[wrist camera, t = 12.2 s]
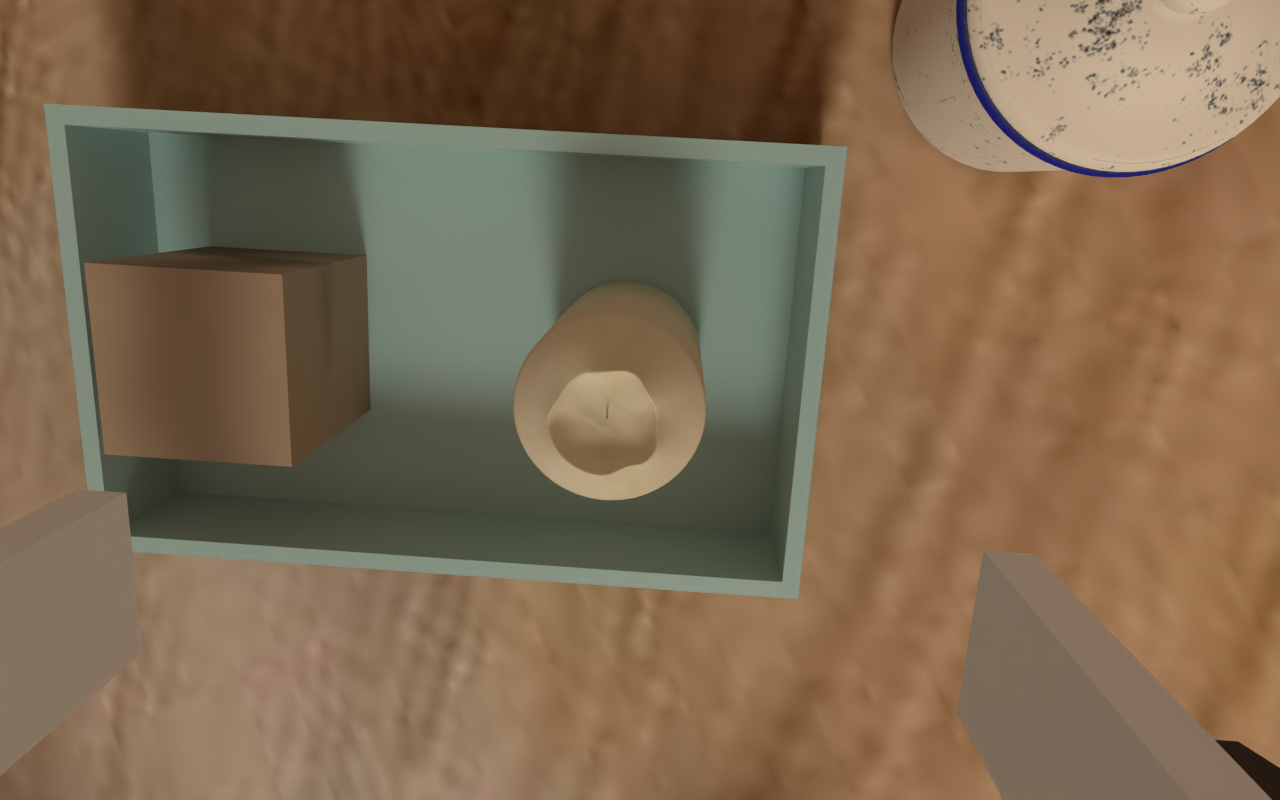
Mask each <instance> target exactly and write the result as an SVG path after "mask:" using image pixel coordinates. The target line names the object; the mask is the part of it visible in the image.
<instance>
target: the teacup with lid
mask: <svg viewBox="0 0 1280 800" xmlns="http://www.w3.org/2000/svg"><path fill="white" fill-rule="evenodd" d="M892 64H893V72H894V79H895V83H896V87H897V91H898V94H899V97H900V100H901V102H902V104H903V106H904V109H905V111H906V113H907V114H908V116H909V118H910V120H911V121H912V123H913V124H914V126H915V127H916V128H917V130H918V131H919V132H920V133H921V134H922V135H923V137H924V138H925V139H926V140H927V141H928V142H929V143H931V144H932V145H933V146H934V147H935V148H936V149H938V150H939V151H941V152H942V153H944V154H945V155H947V156H948V157H950V158H952V159H954V160H956V161H958V162H961V163H963V164H965V165H968V166H971V167H974V168H978V169H983V170H988V171H997V172H1023V171H1050V170H1068V171H1071V172H1074V173H1079V174H1084V175H1090V176H1099V177H1132V176H1141V175H1147V174H1152V173H1157V172H1161V171H1165V170H1168V169H1171V168H1175V167H1178V166H1181V165H1183V164H1186V163H1188V162H1190V161H1193V160H1195V159H1198V158H1200V157H1201V156H1203V155H1205V154H1207V153H1209V152H1211V151H1213V150H1215V149H1216V148H1218V147H1219V146H1221V145H1223V144H1224V143H1226V142H1227V141H1229V140H1230V139H1232V138H1233V137H1234V136H1236V135H1237V134H1239V133H1240V132H1241V131H1243V130H1244V129H1245V128H1247V127H1248V126H1249V125H1250V124H1252V123H1253V122H1254V121H1255V120H1256V119H1257V118H1259V117H1260V116H1261V115H1262V114H1263V113H1264V112H1265V111H1266V110H1267V109H1268V108H1269V107H1270V106H1271V105H1272V104H1273V103H1274V102H1275V101H1276V100H1277V99H1278V98H1279V97H1280V0H902V2H901V5H900V8H899V11H898V14H897V18H896V22H895V27H894V34H893V43H892Z"/></svg>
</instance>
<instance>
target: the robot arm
mask: <svg viewBox="0 0 1280 800" xmlns="http://www.w3.org/2000/svg"><path fill="white" fill-rule="evenodd" d="M141 653H142V643H141V633H140V623H139V613H138V603H137V594H136V584H135V574H134V564H133V554H132V544H131V534H130V524H129V514H128V504H127V495H126V493H123V492H108V491H93V490H76V491H74V492H72V493H70V494H68V495H66V496H64V497H62V498H60V499H58V500H56V501H54V502H52V503H50V504H48V505H46V506H44V507H42V508H40V509H38V510H36V511H34V512H32V513H30V514H28V515H26V516H24V517H22V518H20V519H19V520H17V521H15V522H13V523H11V524H9V525H7V526H5V527H3V528H1V529H0V776H1V775H2V774H3V773H4V772H5V771H6V770H8V769H9V768H10V767H11V766H12V765H13V764H14V763H16V762H17V761H18V760H19V759H20V758H21V757H22V756H24V755H25V754H26V753H27V752H28V751H29V750H31V749H32V748H33V747H34V746H35V745H36V744H37V743H39V742H40V741H41V740H42V739H43V738H44V737H46V736H47V735H48V734H49V733H50V732H51V731H52V730H54V729H55V728H56V727H57V726H58V725H59V724H60V723H62V722H63V721H64V720H65V719H66V718H67V717H69V716H70V715H71V714H72V713H73V712H74V711H75V710H77V709H78V708H79V707H80V706H81V705H82V704H84V703H85V702H86V701H87V700H88V699H89V698H90V697H92V696H93V695H94V694H95V693H96V692H97V691H98V690H100V689H101V688H102V687H103V686H104V685H105V684H107V683H108V682H109V681H110V680H111V679H112V678H113V677H115V676H116V675H117V674H118V673H119V672H120V671H122V670H123V669H124V668H125V667H126V666H127V665H128V664H130V663H131V662H132V661H133V660H134V659H135V658H136V657H138V656H139V655H140V654H141ZM957 713H958V715H959V717H960V719H961V720H962V722H963V724H964V726H965V728H966V730H967V732H968V734H969V736H970V738H971V739H972V741H973V743H974V745H975V747H976V749H977V751H978V753H979V755H980V757H981V758H982V760H983V762H984V764H985V766H986V768H987V770H988V772H989V774H990V776H991V777H992V779H993V781H994V783H995V785H996V787H997V789H998V791H999V793H1000V795H1001V797H1002V798H1003V800H1280V768H1279V767H1277V766H1276V765H1274V764H1272V763H1271V762H1269V761H1268V760H1266V759H1265V758H1263V757H1261V756H1260V755H1258V754H1257V753H1255V752H1254V751H1252V750H1250V749H1249V748H1247V747H1246V746H1244V745H1243V744H1241V743H1239V742H1236V741H1222V740H1214V739H1213V738H1212V737H1211V736H1210V735H1209V734H1208V733H1207V732H1206V731H1205V730H1204V728H1203V727H1202V726H1201V725H1200V724H1199V723H1198V722H1197V721H1196V720H1195V719H1194V718H1193V717H1192V716H1191V715H1190V714H1189V713H1188V712H1187V711H1186V710H1185V709H1184V708H1183V707H1182V706H1181V705H1180V704H1179V703H1178V701H1177V700H1176V699H1175V698H1174V697H1173V696H1172V695H1171V694H1170V693H1169V692H1168V691H1167V690H1166V689H1165V688H1164V687H1163V686H1162V685H1161V684H1160V683H1159V682H1158V681H1157V680H1156V679H1155V678H1154V677H1153V676H1152V675H1151V673H1150V672H1149V671H1148V670H1147V669H1146V668H1145V667H1144V666H1143V665H1142V664H1141V663H1140V662H1139V661H1138V660H1137V659H1136V658H1135V657H1134V656H1133V655H1132V654H1131V653H1130V652H1129V651H1128V650H1127V649H1126V648H1125V646H1124V645H1123V644H1122V643H1121V642H1120V641H1119V640H1118V639H1117V638H1116V637H1115V636H1114V635H1113V634H1112V633H1111V632H1110V631H1109V630H1108V629H1107V628H1106V627H1105V626H1104V625H1103V624H1102V623H1101V622H1100V621H1099V619H1098V618H1097V617H1096V616H1095V615H1094V614H1093V613H1092V612H1091V611H1090V610H1089V609H1088V608H1087V607H1086V606H1085V605H1084V604H1083V603H1082V602H1081V601H1080V600H1079V599H1078V598H1077V597H1076V596H1075V595H1074V594H1073V593H1072V591H1071V590H1070V589H1069V588H1068V587H1067V586H1066V585H1065V584H1064V583H1063V582H1062V581H1061V580H1060V579H1059V578H1058V577H1057V576H1056V575H1055V574H1054V573H1053V572H1052V571H1051V570H1050V569H1049V568H1048V567H1047V566H1046V564H1045V563H1044V562H1043V561H1042V560H1041V559H1040V558H1039V557H1038V556H1037V555H1036V554H1029V553H1014V552H999V551H983V557H982V563H981V569H980V575H979V581H978V588H977V594H976V600H975V606H974V612H973V618H972V624H971V630H970V636H969V642H968V648H967V654H966V661H965V667H964V673H963V679H962V685H961V691H960V697H959V703H958V709H957Z"/></svg>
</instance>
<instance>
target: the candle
mask: <svg viewBox="0 0 1280 800" xmlns="http://www.w3.org/2000/svg"><path fill="white" fill-rule="evenodd" d="M513 413H514V421H515V425H516V429H517V433H518V436H519V438H520V441H521V443H522V445H523V447H524V449H525V451H526V453H527V454H528V456H529V457H530V459H531V460H532V461H533V463H534V464H535V465H536V466H537V467H538V468H539V469H540V470H541V472H542V473H543V474H545V475H546V476H547V477H548V478H549V479H551V480H552V481H553V482H555V483H556V484H558V485H559V486H561V487H563V488H564V489H567V490H569V491H571V492H573V493H575V494H578V495H581V496H585V497H588V498H593V499H599V500H624V499H630V498H635V497H638V496H642V495H645V494H648V493H650V492H652V491H654V490H656V489H658V488H660V487H662V486H663V485H665V484H666V483H668V482H669V481H670V480H672V479H673V478H674V477H675V476H677V475H678V474H679V473H680V472H681V470H682V469H683V468H684V467H685V466H686V465H687V464H688V462H689V461H690V459H691V458H692V456H693V455H694V453H695V451H696V449H697V447H698V445H699V443H700V440H701V437H702V434H703V430H704V426H705V420H706V396H705V386H704V378H703V369H702V360H701V351H700V345H699V340H698V335H697V332H696V329H695V326H694V324H693V322H692V320H691V318H690V317H689V315H688V314H687V312H686V311H685V309H684V308H683V307H682V306H681V305H680V304H679V302H677V301H676V300H675V299H674V298H673V297H672V296H670V295H669V294H667V293H666V292H664V291H663V290H661V289H659V288H656V287H654V286H651V285H648V284H645V283H641V282H635V281H618V282H612V283H607V284H604V285H601V286H598V287H596V288H594V289H592V290H590V291H589V292H587V293H586V294H584V295H583V296H581V297H580V298H579V299H578V300H577V301H576V302H575V303H573V304H572V305H571V306H570V307H569V308H568V310H567V311H566V312H565V313H564V314H563V315H562V316H561V317H560V318H559V319H558V321H557V322H556V323H555V324H554V325H553V326H552V327H551V328H550V329H549V330H548V331H547V333H546V334H545V335H544V336H543V337H542V338H541V339H540V340H539V341H538V343H537V344H536V345H535V346H534V347H533V349H532V350H531V351H530V353H529V354H528V356H527V357H526V359H525V360H524V362H523V364H522V367H521V369H520V371H519V373H518V377H517V380H516V383H515V389H514V395H513Z"/></svg>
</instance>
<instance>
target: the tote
mask: <svg viewBox="0 0 1280 800" xmlns="http://www.w3.org/2000/svg"><path fill="white" fill-rule="evenodd" d="M44 111H45V120H46V128H47V137H48V146H49V155H50V164H51V173H52V181H53V190H54V199H55V208H56V217H57V225H58V234H59V243H60V252H61V261H62V270H63V278H64V287H65V296H66V305H67V314H68V322H69V331H70V340H71V349H72V358H73V367H74V375H75V384H76V393H77V402H78V411H79V419H80V428H81V437H82V446H83V455H84V464H85V472H86V481H87V490H93V491H108V492H123V493H126V495H127V504H128V514H129V524H130V534H131V544H132V552H140V553H155V554H169V555H183V556H197V557H211V558H225V559H239V560H253V561H268V562H282V563H296V564H310V565H324V566H338V567H352V568H366V569H381V570H395V571H409V572H423V573H437V574H451V575H465V576H480V577H494V578H508V579H522V580H536V581H550V582H564V583H578V584H593V585H607V586H621V587H635V588H649V589H663V590H677V591H691V592H706V593H720V594H734V595H748V596H762V597H776V598H790V599H798V594H799V585H800V576H801V567H802V557H803V548H804V539H805V530H806V521H807V512H808V502H809V493H810V484H811V475H812V466H813V457H814V447H815V438H816V429H817V420H818V411H819V402H820V392H821V383H822V374H823V365H824V356H825V347H826V337H827V328H828V319H829V310H830V301H831V292H832V282H833V273H834V264H835V255H836V246H837V237H838V227H839V218H840V209H841V200H842V191H843V182H844V172H845V163H846V154H847V147H845V146H826V145H807V144H789V143H770V142H751V141H732V140H714V139H695V138H676V137H658V136H639V135H620V134H602V133H583V132H564V131H546V130H527V129H508V128H489V127H471V126H452V125H433V124H415V123H396V122H377V121H359V120H340V119H321V118H302V117H284V116H265V115H246V114H228V113H209V112H190V111H172V110H153V109H134V108H116V107H97V106H78V105H59V104H44ZM208 246H215V247H232V248H249V249H266V250H283V251H300V252H317V253H334V254H351V255H367V291H368V330H369V369H370V408H371V410H369V411H368V412H367V413H365V414H364V415H362V416H361V417H360V418H358V419H357V420H356V421H354V422H353V423H351V424H350V425H349V426H347V427H346V428H345V429H343V430H342V431H340V432H339V433H338V434H336V435H335V436H334V437H332V438H331V439H329V440H328V441H327V442H325V443H324V444H323V445H321V446H320V447H318V448H317V449H316V450H314V451H313V452H311V453H310V454H309V455H307V456H306V457H305V458H303V459H302V460H300V461H299V462H298V463H296V464H295V465H294V466H292V467H286V466H271V465H256V464H241V463H226V462H211V461H196V460H181V459H167V458H152V457H137V456H122V455H107V454H104V445H103V436H102V426H101V417H100V408H99V398H98V389H97V379H96V370H95V361H94V351H93V342H92V333H91V323H90V314H89V305H88V295H87V286H86V277H85V267H84V263H86V262H94V261H101V260H109V259H117V258H124V257H132V256H139V255H147V254H154V253H162V252H170V251H177V250H185V249H192V248H200V247H208ZM618 281H635V282H641V283H645V284H648V285H651V286H654V287H656V288H659V289H661V290H663V291H664V292H666V293H667V294H669V295H670V296H672V297H673V298H674V299H675V300H676V301H677V302H679V304H680V305H681V306H682V307H683V308H684V309H685V311H686V312H687V314H688V315H689V317H690V318H691V320H692V322H693V324H694V326H695V329H696V332H697V335H698V340H699V345H700V351H701V360H702V369H703V378H704V386H705V396H706V420H705V426H704V430H703V434H702V437H701V440H700V443H699V445H698V447H697V449H696V451H695V453H694V455H693V456H692V458H691V459H690V461H689V462H688V464H687V465H686V466H685V467H684V468H683V469H682V470H681V472H680V473H679V474H678V475H677V476H675V477H674V478H673V479H672V480H670V481H669V482H668V483H666V484H665V485H663V486H662V487H660V488H658V489H656V490H654V491H652V492H650V493H648V494H645V495H642V496H638V497H635V498H630V499H624V500H599V499H593V498H588V497H585V496H581V495H578V494H575V493H573V492H571V491H569V490H567V489H564V488H563V487H561V486H559V485H558V484H556V483H555V482H553V481H552V480H551V479H549V478H548V477H547V476H546V475H545V474H543V473H542V472H541V470H540V469H539V468H538V467H537V466H536V465H535V464H534V463H533V461H532V460H531V459H530V457H529V456H528V454H527V453H526V451H525V449H524V447H523V445H522V443H521V441H520V438H519V436H518V433H517V429H516V425H515V421H514V413H513V395H514V389H515V383H516V380H517V377H518V373H519V371H520V369H521V367H522V364H523V362H524V360H525V359H526V357H527V356H528V354H529V353H530V351H531V350H532V349H533V347H534V346H535V345H536V344H537V343H538V341H539V340H540V339H541V338H542V337H543V336H544V335H545V334H546V333H547V331H548V330H549V329H550V328H551V327H552V326H553V325H554V324H555V323H556V322H557V321H558V319H559V318H560V317H561V316H562V315H563V314H564V313H565V312H566V311H567V310H568V308H569V307H570V306H571V305H572V304H573V303H575V302H576V301H577V300H578V299H579V298H580V297H581V296H583V295H584V294H586V293H587V292H589V291H590V290H592V289H594V288H596V287H598V286H601V285H604V284H607V283H612V282H618Z"/></svg>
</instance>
